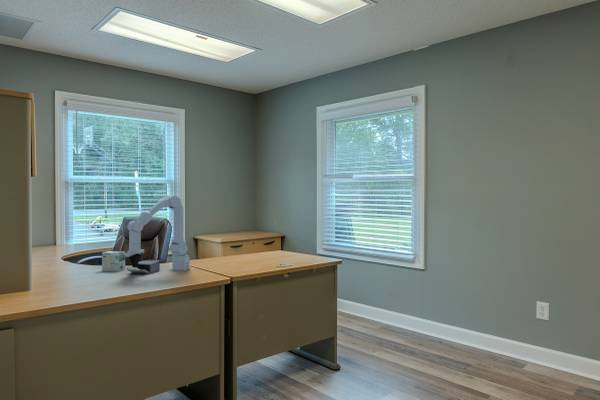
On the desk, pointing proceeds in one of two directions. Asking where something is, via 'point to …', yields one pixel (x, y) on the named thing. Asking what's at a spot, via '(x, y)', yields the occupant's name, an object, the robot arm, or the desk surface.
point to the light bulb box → (113, 261)
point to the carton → (149, 266)
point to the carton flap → (137, 270)
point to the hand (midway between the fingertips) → (134, 268)
